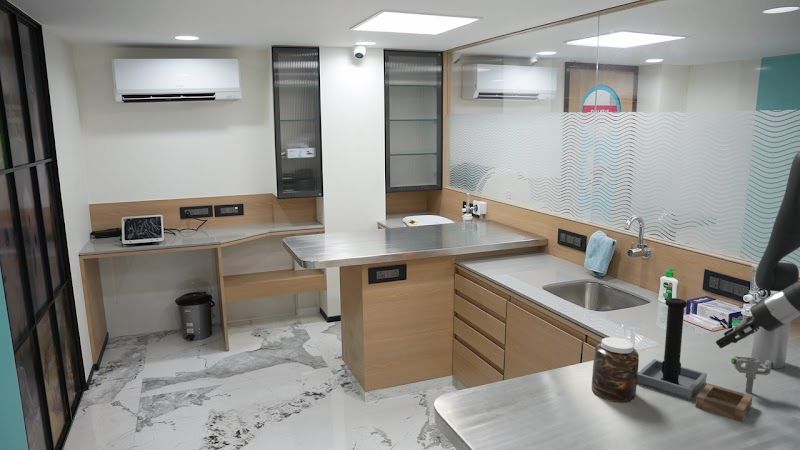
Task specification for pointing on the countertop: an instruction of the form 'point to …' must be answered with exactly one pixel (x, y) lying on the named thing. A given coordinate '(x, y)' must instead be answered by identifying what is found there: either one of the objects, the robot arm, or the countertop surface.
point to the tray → (687, 381)
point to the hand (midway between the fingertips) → (722, 340)
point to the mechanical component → (751, 369)
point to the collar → (723, 408)
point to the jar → (615, 370)
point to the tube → (673, 340)
